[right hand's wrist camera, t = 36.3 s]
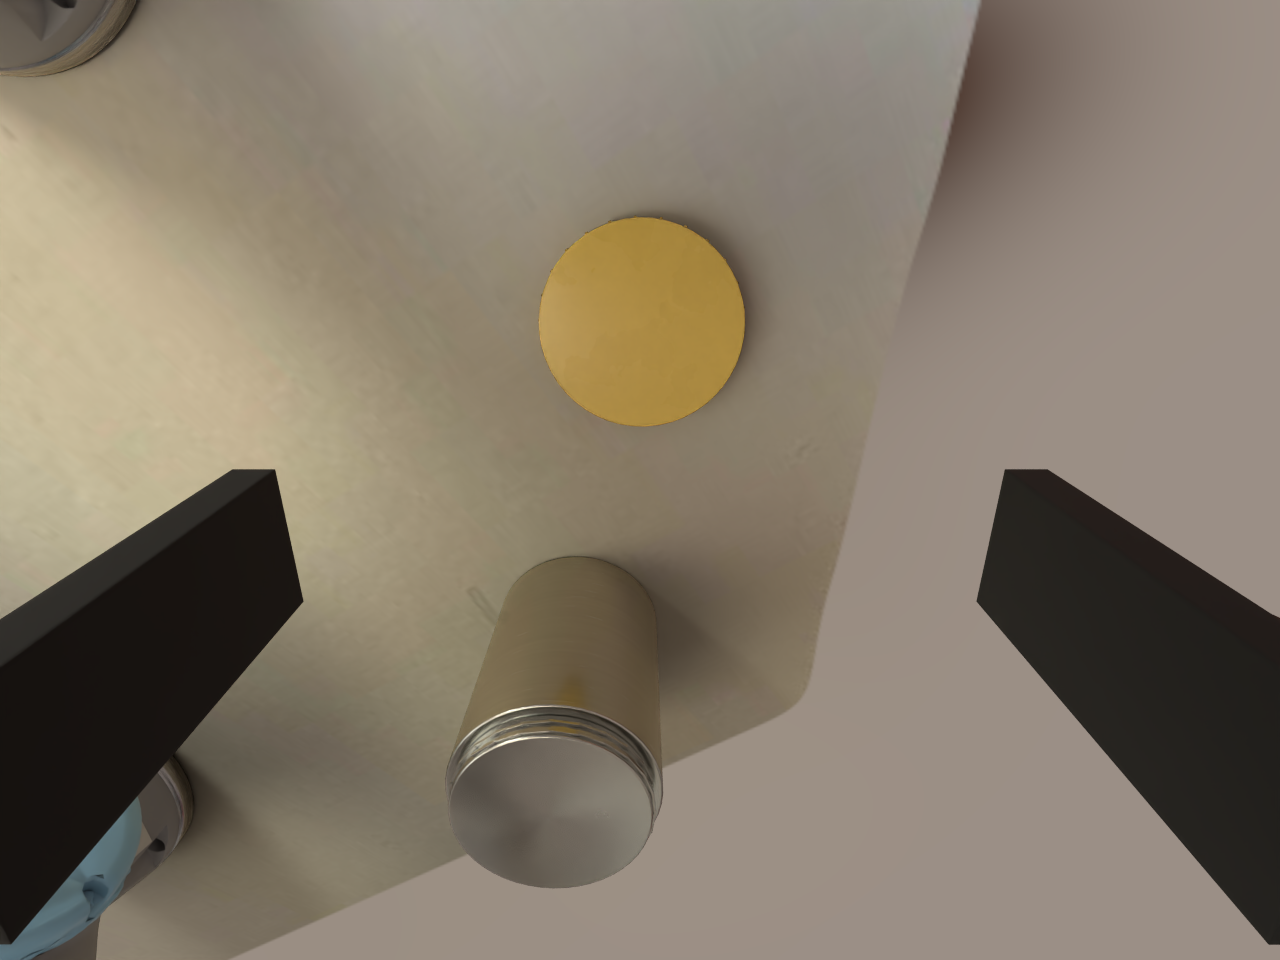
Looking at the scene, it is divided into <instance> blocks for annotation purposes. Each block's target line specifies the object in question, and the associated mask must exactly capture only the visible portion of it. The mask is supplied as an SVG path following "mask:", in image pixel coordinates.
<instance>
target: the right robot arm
mask: <svg viewBox="0 0 1280 960" xmlns="http://www.w3.org/2000/svg"><path fill="white" fill-rule="evenodd" d="M136 1H137V0H0V74H1V75H8V76H19V77H26V76H42V75H49V74H54V73H57V72H61V71H65V70H68V69H70V68H72V67H75V66H77V65H79V64H81V63H83V62H85V61H86V60H88V59H90V58H92V57H93V56H94V55H96V54H97V53H98V52H99V51H101V50H102V49H103V48H105V47H106V45H107V44H108V43H109V42H110V41H111V40H112V39H113V38H114V37H115V36H116V35H117V33H118V32H119V31H120V29H121V28H122V27H123V25H124V24H125V22H126V21H127V19H128V17H129V15H130V14H131V12H132V10H133V8H134V5H135V3H136ZM977 602H978V604H979V605H980V606H981V607H982V608H983V610H984V611H985V612H986V613H987V614H988V615H989V617H990V618H991V619H992V620H993V621H994V622H995V624H996V625H997V626H998V627H999V628H1000V630H1001V631H1002V632H1003V633H1004V634H1005V635H1006V637H1007V638H1008V639H1009V640H1010V641H1011V642H1012V644H1013V645H1014V646H1015V647H1016V648H1017V649H1018V651H1019V652H1020V653H1021V654H1022V655H1023V656H1024V658H1025V659H1026V660H1027V661H1028V662H1029V663H1030V665H1031V666H1032V667H1033V668H1034V669H1035V671H1036V672H1037V673H1038V674H1039V675H1040V676H1041V678H1042V679H1043V680H1044V681H1045V682H1046V684H1047V685H1048V686H1049V687H1050V688H1051V689H1052V691H1053V692H1054V693H1055V694H1056V695H1057V696H1058V698H1059V699H1060V700H1061V701H1062V702H1063V704H1064V705H1065V706H1066V707H1067V708H1068V709H1069V711H1070V712H1071V713H1072V714H1073V715H1074V716H1075V718H1076V719H1077V720H1078V721H1079V722H1080V723H1081V725H1082V726H1083V727H1084V728H1085V729H1086V731H1087V732H1088V733H1089V734H1090V735H1091V736H1092V738H1093V739H1094V740H1095V741H1096V742H1097V743H1098V745H1099V746H1100V747H1101V748H1102V749H1103V751H1104V752H1105V753H1106V754H1107V755H1108V756H1109V758H1110V759H1111V760H1112V761H1113V762H1114V763H1115V765H1116V766H1117V767H1118V768H1119V769H1120V770H1121V772H1122V773H1123V774H1124V775H1125V776H1126V777H1127V779H1128V780H1129V781H1130V782H1131V783H1132V785H1133V786H1134V787H1135V788H1136V789H1137V790H1138V792H1139V793H1140V794H1141V795H1142V796H1143V797H1144V799H1145V800H1146V801H1147V802H1148V803H1149V805H1150V806H1151V807H1152V808H1153V809H1154V810H1155V812H1156V813H1157V814H1158V815H1159V816H1160V817H1161V819H1162V820H1163V821H1164V822H1165V823H1166V824H1167V826H1168V827H1169V828H1170V829H1171V830H1172V832H1173V833H1174V834H1175V835H1176V836H1177V837H1178V839H1179V840H1180V841H1181V842H1182V843H1183V844H1184V846H1185V847H1186V848H1187V849H1188V850H1189V851H1190V853H1191V854H1192V855H1193V856H1194V857H1195V859H1196V860H1197V861H1198V862H1199V863H1200V864H1201V866H1202V867H1203V868H1204V869H1205V870H1206V871H1207V873H1208V874H1209V875H1210V876H1211V877H1212V879H1213V880H1214V881H1215V882H1216V883H1217V884H1218V886H1219V887H1220V888H1221V889H1222V890H1223V891H1224V893H1225V894H1226V895H1227V896H1228V897H1229V898H1230V900H1231V901H1232V902H1233V903H1234V904H1235V906H1236V907H1237V908H1238V909H1239V910H1240V911H1241V913H1242V914H1243V915H1244V916H1245V917H1246V918H1247V920H1248V921H1249V922H1250V923H1251V924H1252V925H1253V927H1254V928H1255V929H1256V930H1257V931H1258V933H1259V934H1260V935H1261V936H1262V937H1263V938H1264V940H1265V941H1266V942H1267V943H1268V944H1269V945H1280V618H1279V617H1277V616H1275V615H1272V614H1270V613H1269V612H1267V611H1266V610H1264V609H1263V608H1261V607H1260V606H1258V605H1257V604H1255V603H1253V602H1252V601H1250V600H1249V599H1247V598H1246V597H1244V596H1243V595H1241V594H1240V593H1238V592H1236V591H1235V590H1233V589H1232V588H1230V587H1229V586H1227V585H1226V584H1224V583H1222V582H1221V581H1219V580H1218V579H1216V578H1215V577H1213V576H1212V575H1210V574H1209V573H1207V572H1205V571H1204V570H1202V569H1201V568H1199V567H1198V566H1196V565H1195V564H1193V563H1192V562H1190V561H1188V560H1187V559H1185V558H1184V557H1182V556H1181V555H1179V554H1178V553H1176V552H1174V551H1173V550H1171V549H1170V548H1168V547H1167V546H1165V545H1164V544H1162V543H1161V542H1159V541H1157V540H1156V539H1154V538H1153V537H1151V536H1150V535H1148V534H1147V533H1145V532H1143V531H1142V530H1140V529H1139V528H1137V527H1136V526H1134V525H1133V524H1131V523H1130V522H1128V521H1127V520H1125V519H1123V518H1122V517H1120V516H1119V515H1117V514H1116V513H1114V512H1113V511H1111V510H1109V509H1108V508H1106V507H1105V506H1103V505H1102V504H1100V503H1099V502H1097V501H1096V500H1094V499H1092V498H1091V497H1089V496H1088V495H1086V494H1085V493H1083V492H1082V491H1080V490H1078V489H1077V488H1075V487H1074V486H1072V485H1071V484H1069V483H1068V482H1066V481H1065V480H1063V479H1062V478H1060V477H1058V476H1057V475H1055V474H1054V473H1052V472H1051V471H1049V470H1047V469H1027V470H1026V469H1006V470H1005V472H1004V476H1003V481H1002V486H1001V490H1000V495H999V499H998V504H997V509H996V513H995V518H994V523H993V528H992V532H991V537H990V541H989V546H988V551H987V555H986V560H985V565H984V569H983V574H982V578H981V583H980V588H979V592H978V597H977ZM302 603H303V597H302V592H301V588H300V583H299V578H298V574H297V569H296V564H295V560H294V555H293V551H292V546H291V541H290V537H289V532H288V527H287V523H286V518H285V513H284V509H283V504H282V499H281V495H280V490H279V485H278V481H277V476H276V472H275V469H232V470H231V471H229V472H228V473H226V474H225V475H223V476H222V477H220V478H218V479H217V480H215V481H214V482H212V483H211V484H209V485H208V486H206V487H205V488H203V489H201V490H200V491H198V492H197V493H195V494H194V495H192V496H191V497H189V498H188V499H186V500H184V501H183V502H181V503H180V504H178V505H177V506H175V507H174V508H172V509H170V510H169V511H167V512H166V513H164V514H163V515H161V516H160V517H158V518H157V519H155V520H153V521H152V522H150V523H149V524H147V525H146V526H144V527H143V528H141V529H140V530H138V531H136V532H135V533H133V534H132V535H130V536H129V537H127V538H126V539H124V540H123V541H121V542H119V543H118V544H116V545H115V546H113V547H112V548H110V549H109V550H107V551H105V552H104V553H102V554H101V555H99V556H98V557H96V558H95V559H93V560H92V561H90V562H88V563H87V564H85V565H84V566H82V567H81V568H79V569H78V570H76V571H75V572H73V573H71V574H70V575H68V576H67V577H65V578H64V579H62V580H61V581H59V582H57V583H56V584H54V585H53V586H51V587H50V588H48V589H47V590H45V591H44V592H42V593H40V594H39V595H37V596H36V597H34V598H33V599H31V600H30V601H28V602H27V603H25V604H23V605H22V606H20V607H19V608H17V609H16V610H14V611H13V612H11V613H10V614H8V615H6V616H5V617H3V618H2V619H0V945H11V944H12V943H13V942H14V941H15V940H16V938H17V937H18V936H19V935H20V934H21V933H22V931H23V930H24V929H25V928H26V927H27V925H28V924H29V923H30V922H31V921H32V920H33V918H34V917H35V916H36V915H37V914H38V913H39V911H40V910H41V909H42V908H43V907H44V906H45V904H46V903H47V902H48V901H49V900H50V898H51V897H52V896H53V895H54V894H55V893H56V891H57V890H58V889H59V888H60V887H61V886H62V884H63V883H64V882H65V881H66V880H67V879H68V877H69V876H70V875H71V874H72V873H73V871H74V870H75V869H76V868H77V867H78V866H79V864H80V863H81V862H82V861H83V860H84V859H85V857H86V856H87V855H88V854H89V853H90V851H91V850H92V849H93V848H94V847H95V846H96V844H97V843H98V842H99V841H100V840H101V839H102V837H103V836H104V835H105V834H106V833H107V832H108V830H109V829H110V828H111V827H112V826H113V824H114V823H115V822H116V821H117V820H118V819H119V817H120V816H121V815H122V814H123V813H124V812H125V810H126V809H127V808H128V807H129V806H130V805H131V803H132V802H133V801H134V800H135V799H136V797H137V796H138V795H139V794H140V793H141V792H142V790H143V789H144V788H145V787H146V786H147V785H148V783H149V782H150V781H151V780H152V779H153V778H154V776H155V775H156V774H157V773H158V772H159V770H160V769H161V768H162V767H163V766H164V765H165V763H166V762H167V761H168V760H169V759H170V758H171V756H172V755H173V754H174V753H175V752H176V751H177V749H178V748H179V747H180V746H181V745H182V743H183V742H184V741H185V740H186V739H187V738H188V736H189V735H190V734H191V733H192V732H193V731H194V729H195V728H196V727H197V726H198V725H199V723H200V722H201V721H202V720H203V719H204V718H205V716H206V715H207V714H208V713H209V712H210V711H211V709H212V708H213V707H214V706H215V705H216V704H217V702H218V701H219V700H220V699H221V698H222V696H223V695H224V694H225V693H226V692H227V691H228V689H229V688H230V687H231V686H232V685H233V684H234V682H235V681H236V680H237V679H238V678H239V677H240V675H241V674H242V673H243V672H244V671H245V669H246V668H247V667H248V666H249V665H250V664H251V662H252V661H253V660H254V659H255V658H256V657H257V655H258V654H259V653H260V652H261V651H262V650H263V648H264V647H265V646H266V645H267V644H268V642H269V641H270V640H271V639H272V638H273V637H274V635H275V634H276V633H277V632H278V631H279V630H280V628H281V627H282V626H283V625H284V624H285V623H286V621H287V620H288V619H289V618H290V617H291V615H292V614H293V613H294V612H295V611H296V610H297V608H298V607H299V606H300V605H301V604H302Z"/></svg>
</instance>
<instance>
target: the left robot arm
mask: <svg viewBox="0 0 1280 960" xmlns="http://www.w3.org/2000/svg"><path fill="white" fill-rule="evenodd" d="M193 808H194V803H193V795H192V790H191V787H190V784H189V781H188V779H187V777H186V775H185V773H184V771H183V770H182V768H181V766H180V765H179V763H178V762H177V761H176V759H175V758H174V757H173V756H171V758H170V759H169V760H168V761H167V762H166V763H165V765H164V766H163V767H162V768H161V769H160V770H159V772H158V773H157V774H156V775H155V776H154V778H153V779H152V780H151V781H150V782H149V783H148V785H147V786H146V787H145V788H144V789H143V790H142V792H141V793H140V794H139V795H138V796H137V797H136V799H135V800H134V801H133V802H132V803H131V805H130V806H129V807H128V808H127V809H126V810H125V812H124V813H123V814H122V815H121V816H120V817H119V819H118V820H117V821H116V822H115V823H114V824H113V826H112V827H111V828H110V829H109V830H108V832H107V833H106V834H105V835H104V836H103V837H102V839H101V840H100V841H99V842H98V843H97V844H96V846H95V847H94V848H93V849H92V850H91V851H90V853H89V854H88V855H87V856H86V857H85V859H84V860H83V861H82V862H81V863H80V864H79V866H78V867H77V868H76V869H75V870H74V871H73V873H72V874H71V875H70V876H69V877H68V879H67V880H66V881H65V882H64V883H63V884H62V886H61V887H60V888H59V889H58V890H57V891H56V893H55V894H54V895H53V896H52V897H51V898H50V900H49V901H48V902H47V903H46V904H45V906H44V907H43V908H42V909H41V910H40V911H39V913H38V914H37V915H36V916H35V917H34V918H33V920H32V921H31V922H30V923H29V924H28V925H27V927H26V928H25V929H24V930H23V931H22V933H21V934H20V935H19V936H18V937H17V938H16V940H15V941H14V942H13V943H12V944H11V945H0V960H96V951H97V937H98V927H99V921H100V916H101V914H102V913H103V912H104V910H105V909H106V908H107V907H108V906H109V905H111V904H112V903H113V902H114V901H116V900H117V899H118V898H119V897H121V896H122V895H123V894H124V893H126V892H127V891H128V890H130V889H131V888H132V887H133V886H135V885H136V884H137V883H138V882H140V881H141V880H142V879H144V878H145V877H146V876H147V875H149V874H150V873H151V872H152V871H154V870H155V869H156V868H157V867H158V866H159V865H160V864H161V863H162V862H163V861H164V860H165V859H166V858H167V857H168V856H169V855H170V854H171V852H172V851H173V850H174V848H175V847H176V846H177V844H178V843H179V841H180V840H181V839H182V837H183V836H184V835H185V833H186V831H187V830H188V828H189V826H190V823H191V820H192V816H193Z"/></svg>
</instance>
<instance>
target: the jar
mask: <svg viewBox="0 0 1280 960" xmlns="http://www.w3.org/2000/svg"><path fill="white" fill-rule="evenodd" d="M445 783H446V794H447V799H448V814H449V819H450V824H451V827H452V830H453V832H454V835H455V837H456V838H457V840H458V842H459V844H460V845H461V846H462V847H463V849H464V850H465V851H466V852H467V853H468V854H469V855H470V856H471V857H472V858H473V859H474V860H475V861H476V862H477V863H479V864H480V865H481V866H483V867H484V868H486V869H487V870H489V871H491V872H492V873H494V874H496V875H498V876H501V877H503V878H505V879H508V880H510V881H513V882H516V883H520V884H524V885H528V886H534V887H541V888H569V887H577V886H582V885H587V884H591V883H594V882H597V881H600V880H602V879H605V878H607V877H609V876H611V875H613V874H615V873H616V872H618V871H620V870H621V869H623V868H624V867H625V866H627V865H628V864H629V863H630V862H631V861H632V860H633V859H634V858H635V857H636V856H637V855H638V854H639V853H640V851H641V850H642V848H643V847H644V845H645V843H646V841H647V839H648V838H649V836H650V834H651V833H652V830H653V825H654V822H655V820H656V818H657V816H658V814H659V811H660V807H661V804H662V797H663V780H662V754H661V728H660V703H659V678H658V652H657V627H656V615H655V610H654V607H653V604H652V602H651V600H650V598H649V596H648V594H647V593H646V591H645V590H644V588H643V587H642V586H641V585H640V584H639V583H638V582H637V581H636V580H635V579H634V578H633V577H632V576H631V575H629V574H628V573H627V572H625V571H624V570H622V569H620V568H619V567H617V566H615V565H613V564H610V563H608V562H605V561H602V560H598V559H593V558H587V557H565V558H559V559H554V560H551V561H547V562H545V563H542V564H540V565H538V566H536V567H534V568H533V569H531V570H529V571H528V572H526V573H525V574H524V575H523V576H521V577H520V578H519V579H518V580H517V581H516V582H515V583H514V585H513V586H512V588H511V589H510V590H509V592H508V594H507V596H506V598H505V600H504V603H503V606H502V609H501V612H500V615H499V618H498V621H497V624H496V627H495V629H494V632H493V635H492V638H491V641H490V644H489V647H488V650H487V653H486V656H485V659H484V661H483V664H482V667H481V670H480V673H479V676H478V679H477V682H476V685H475V688H474V691H473V693H472V696H471V699H470V702H469V705H468V708H467V711H466V714H465V717H464V720H463V723H462V725H461V728H460V731H459V734H458V737H457V740H456V743H455V746H454V749H453V752H452V755H451V757H450V760H449V763H448V766H447V771H446V778H445Z"/></svg>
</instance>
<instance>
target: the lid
mask: <svg viewBox="0 0 1280 960" xmlns="http://www.w3.org/2000/svg"><path fill="white" fill-rule="evenodd" d="M608 222H609V223H608V224H605V225H603V226H600V227H598V228H596V229H594V230H593V231H591V232H586V233H585V235H584V236H583V237H582V238H580V239H579V240H578V241H577V242H575V243H574V244H573V245H572V246H571V247H570V248H567V249H566V250H565V251H566V252H565V253H564V254H563V255H562V257H561V258H560V260H559V261H558V262H557V264H556V265H555V267H554V268H553V269H552V270H551V271H550V272H551V274H550V276H549V278H548V280H547V283H546V286H545V288H544V291H543V293H542V295H541V296H542V299H541V303H540V311H539V319H538V322H539V334H540V340H541V346H542V349H543V353H544V356H545V359H546V362H547V364H548V366H549V368H550V371H551V372H552V374H553V376H554V377H555V379H556V381H557V382H558V383H559V385H560V386H561V387H562V389H563V390H564V391H565V392H566V393H567V394H568V395H569V396H570V397H571V398H572V399H573V400H574V401H575V402H576V403H577V404H579V405H580V406H581V407H583V408H584V409H585V410H587V411H589V412H591V413H592V414H594V415H596V416H598V417H600V418H603V419H605V420H607V421H611V422H614V423H618V424H622V425H629V426H655V425H661V424H666V423H670V422H673V421H676V420H678V419H681V418H684V417H686V416H687V415H689V414H691V413H693V412H695V411H696V410H698V409H699V408H701V407H702V406H704V405H705V404H706V403H707V402H708V401H710V400H711V399H712V398H713V397H714V396H715V395H716V394H717V393H718V392H719V390H720V389H721V388H722V387H723V386H724V384H725V383H726V381H727V380H728V378H729V377H730V375H731V374H732V372H733V370H734V368H735V365H736V363H737V361H738V358H739V355H740V352H741V349H742V344H743V339H744V334H745V331H744V330H745V313H744V309H745V306H744V305H743V300H742V295H741V292H740V289H739V286H738V284H739V283H738V281H737V280H736V279H735V276H734V274H733V272H732V270H731V269H730V267H729V266H728V264H727V263H726V261H727V260H726V259H725V258H723V257H722V256H721V255H720V253H719V252H718V251H717V250H716V249H715V248H714V247H713V246H712V245H711V244H710V243H709V240H708V239H704V238H702V237H701V236H699V235H698V234H696V233H695V232H693V231H692V230H690V229H687V226H686V225H684V227H683V226H681V225H679V224H677V223H673V222H670V221H667V220H663V218H662V217H660V219H657V218H650V217H636V216H634V218H626V219H621V220H617V221H613V222H612V221H611V220H610V221H608Z"/></svg>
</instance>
